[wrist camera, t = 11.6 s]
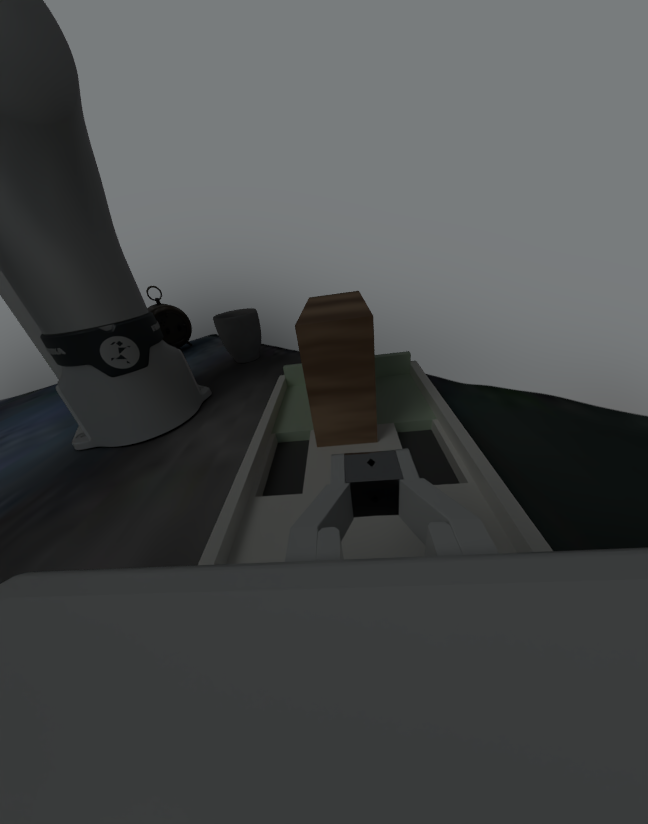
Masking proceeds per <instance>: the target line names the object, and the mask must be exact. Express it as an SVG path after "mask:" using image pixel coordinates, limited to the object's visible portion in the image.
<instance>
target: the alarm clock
mask: <svg viewBox="0 0 648 824" xmlns="http://www.w3.org/2000/svg"><path fill="white" fill-rule="evenodd" d="M151 287H154V288H157V287H156V286H150V287H148V288H147V295H148V290H149V289H150V288H151ZM157 289H158V290H159V291H160V293H161V290H160V289H159V288H157ZM148 297H149V298H150V299H152V298H151V297H150V296H149V295H148ZM161 297H162V293H161ZM161 297H160V298H155V301H156V303H157V304H155V305H152V306H150V307H149V308H147V309H148V311H150V312H152V313H153V315H154V317H155V319H156V321H158V323H159V325H160V329H161V332H162V334H163V336H164V337H163V339H162V340H163V341H164V342H166V343H167V344H168V345H170V346H173V347H175V348H177V349H180V347H182V346H183V345H185V344H186V343H187V344H189V345H190V346H192V344H190V343H189V342H188V340H189V338H190V336H191V332H192V328H191V323H190V320H189V318H188V317H187V315H186V314H185V313H184V312H183V311H182V310H180V309H179V308H177V307H174V306H171V305H167V304H161V303H160V301H159V300H160V299H161ZM152 300H154V299H152ZM180 350H181V349H180Z"/></svg>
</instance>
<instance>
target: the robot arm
mask: <svg viewBox="0 0 648 824" xmlns="http://www.w3.org/2000/svg"><path fill="white" fill-rule="evenodd" d="M0 270H1V272H2V273H3V275H4V276H5V278H6V279H7V281H8V282H9V284H10V285H11V287H12V288H13V290H14V291H15V293H16V294H17V296H18V297H19V299H20V300H21V302H22V303H23V305H24V306H25V308H26V309H27V311H28V312H29V314H30V315H31V317H32V318H33V320H34V321H35V323H36V324H37V326H38V327H39V329H40V330H41V332H42V333H43V334H41V336H40V338H41V340H42V342H43V343H44V345H45V349H46V350H47V352H48V353H49V354H51V356H52V357H53V359H54V360H55V362H56V363H57V364H58V365H60V366H62V375H61V378H60V379H59V381H58V385H57V386H56V390H57V392H58V394H59V395H60V397H61V398H62V400H63V401H64V403H65V404H66V406H67V407H68V409H69V410H70V412H71V413H72V415H73V417H74V418H75V420H76V421H77V423H78V424H79V426H78V429H77V431H76V434H75V436H74V438H73V441H72V444H73V446H74V448H75V450H83V449H88V448H93V447H99V446H105V447H117V446H125V445H130V444H134V443H138V442H142V441H145V440H148V439H151V438H154V437H156V436H159V435H161V434H163V433H166V432H168V431H170V430H172V429H174V428H175V427H177V426H179V425H181V424H182V423H184V422H185V421H187V420H188V419H189V418H191V417H192V416H193V415H194V414H195V413H196V412H197V411H198V409H199V408H200V406H201V404H202V402H203V401H204V400H206V399H207V398H208V397H209V396H210V395H211V394H212V392H211V391H210V389H209V388H208V387H205V386H201V385H198V384H197V383H196V381H195V378H194V376H193V374H192V372H191V370H190V368H189V366H188V364H187V361H186V359H185V357H184V355H183V353H182V351H181V350H180V349H177V348H175V347H173V346H170V345H168V344H167V343H166V342H164V341H163V340H162V339H163V337H164V336H163V334H162V332H161V329H160V325H159V323H158V321H156V319H155V317H154V315H153V313H152V312H150V311H148V309H147V307H146V305H145V303H144V300H143V298H142V296H141V293H140V291H139V289H138V287H137V284H136V282H135V280H134V278H133V275H132V273H131V271H130V268H129V266H128V264H127V261H126V259H125V257H124V255H123V252H122V249H121V247H120V244H119V241H118V239H117V236H116V233H115V229H114V226H113V223H112V219H111V216H110V212H109V208H108V204H107V201H106V197H105V193H104V189H103V186H102V182H101V178H100V174H99V171H98V167H97V164H96V161H95V157H94V154H93V151H92V148H91V144H90V140H89V137H88V133H87V129H86V125H85V121H84V117H83V111H82V105H81V97H80V89H79V81H78V74H77V70H76V66H75V62H74V59H73V56H72V53H71V50H70V48H69V45H68V43H67V41H66V39H65V37H64V35H63V33H62V31H61V29H60V27H59V25H58V23H57V21H56V20H55V18H54V17H53V15H52V14H51V12H50V10H49V8H48V7H47V6H46V4H45V3H44V1H43V0H0ZM385 515H399V517H400V518H401V519H402V520H403V521H404V523H405V524H406V525H407V526H408V527H409V528H410V529H411V530H412V531H413V533H414V534H415V535H416V536H417V537H418V538H419V539H420V540H421V541H422V543H423V544H424V545H425V546H426V547H425V556H421V557H396V558H371V559H345V560H344V558H343V551H342V545H341V541H342V539H343V538H344V536H345V534H346V532H347V530H348V528H349V527H350V525H351V523H352V521H353V519H354V517H367V516H385ZM0 824H648V548H623V549H598V550H572V551H547V552H522V553H499V552H498V551H497V549H496V547H495V545H494V543H493V541H492V539H491V538H490V536H489V534H488V532H487V530H486V528H485V526H484V524H483V523H482V521H481V519H480V518H479V517H477V516H476V515H474V514H473V513H472V512H470V511H469V510H467V509H466V508H465V507H463V506H462V505H461V504H459V503H458V502H456V501H455V500H454V499H452V498H451V497H449V496H448V495H447V494H445V493H444V492H442V491H441V490H440V489H438V488H437V487H435V486H434V485H433V484H431V483H430V482H428V481H427V480H426V479H424V478H419V475H418V472H417V470H416V467H415V464H414V462H413V459H412V456H411V454H410V451H409V449H408V448H406V449H395V450H387V451H375V452H359V453H344V454H332V455H331V478H330V484H328V485H326V486H325V487H324V488H323V490H322V491H321V492H320V493H319V494H318V496H317V497H316V498H315V499H314V500H313V502H312V503H311V504H310V505H309V506H308V508H307V509H306V510H305V511H304V512H303V514H302V515H301V516H300V517H299V518H298V519H297V521H296V522H295V523H294V524H293V525H292V527H291V528H290V533H289V539H288V545H287V551H286V557H285V562H268V563H243V564H218V565H193V566H168V567H143V568H118V569H92V570H65V571H37V572H26V573H22V574H18V575H16V576H13V577H12V578H10V579H8V580H6V581H4V582H3V583H1V584H0Z"/></svg>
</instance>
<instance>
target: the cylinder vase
mask: <svg viewBox="0 0 648 824" xmlns="http://www.w3.org/2000/svg"><path fill="white" fill-rule="evenodd" d="M0 295H1V297H2V298H3V299H4V301H5V302H6V304H7V305H8V307H9V308H10V310H11V311H12V312H13V314H14V315H15V317H16V318H17V320H18V321H19V323H20V324H21V326H22V327H23V328H24V330H25V331H26V333H27V334H28V336H29V337H30V338H31V340H32V341H33V343H34V344H35V346H36V347H37V349H38V350H39V352H40V353H41V354H42V356H43V357H44V359H45V360H46V362H47V363H48V365H49V366H50V367H51V369H52V370H53V372H54V373H55V374H56V376H57V378H58V379H60V378H61V375H62V366H60V365H58V364H57V363H56V362H55V360H54V359H53V357H52V356H51V354H49V353H48V352H47V350H46V349H45V345H44V343H43V342H42V340H41V338H40V336H41V334H43V333H42V332H41V330H40V329H39V327H38V326H37V324H36V323H35V321H34V320H33V318H32V317H31V315H30V314H29V312H28V311H27V309H26V308H25V306H24V305H23V303H22V302H21V300H20V299H19V297H18V296H17V294H16V293H15V291H14V290H13V288H12V287H11V285H10V284H9V282H8V281H7V279H6V278H5V276H4V275H3V273H2V272H1V270H0Z"/></svg>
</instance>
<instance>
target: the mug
mask: <svg viewBox="0 0 648 824" xmlns="http://www.w3.org/2000/svg"><path fill="white" fill-rule="evenodd" d="M213 320H214V323H215V327H216V329H217V332H218V334H219V337H220V339H221V341H222V343H223V344H224V346H225V348H226V349H227V351H228V352H229V353H230V354H231V355H232V357H233V358H234V359H235V361H236V362H237V363H246V362H251V361H254V360H256V359H258V358H259V357H260V347H261V329H260V323H259V318H258V314H257V311H256V309H240V310H234V311H229V312H225V313H222V314H218V315H216V316H214V317H213Z"/></svg>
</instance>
